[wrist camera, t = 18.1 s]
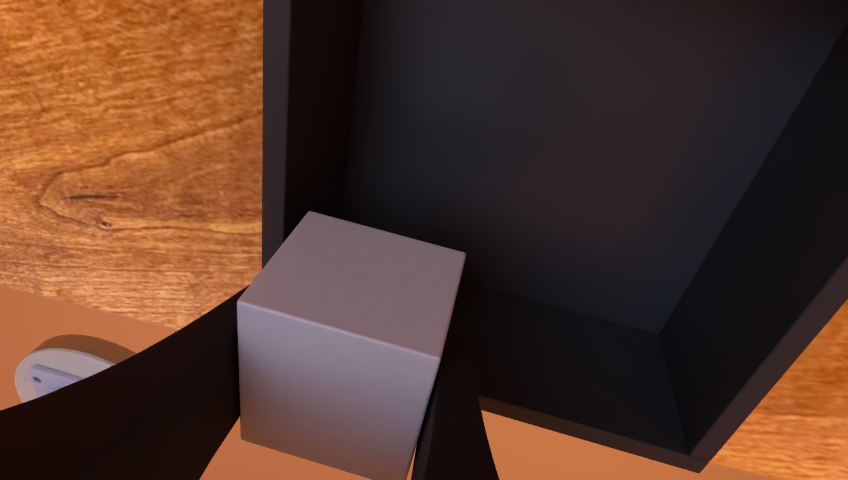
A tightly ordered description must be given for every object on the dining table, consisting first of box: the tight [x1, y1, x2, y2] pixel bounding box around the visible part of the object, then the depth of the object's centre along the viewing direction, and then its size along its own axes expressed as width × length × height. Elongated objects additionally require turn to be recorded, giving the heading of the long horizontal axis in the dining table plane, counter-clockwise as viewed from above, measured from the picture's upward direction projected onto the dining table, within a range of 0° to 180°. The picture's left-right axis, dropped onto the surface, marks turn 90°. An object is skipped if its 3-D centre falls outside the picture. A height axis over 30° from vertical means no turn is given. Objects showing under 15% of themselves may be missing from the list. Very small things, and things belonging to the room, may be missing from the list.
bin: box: [262, 0, 848, 473], centre depth 14 cm, size 13×13×6 cm
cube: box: [237, 211, 466, 480], centre depth 12 cm, size 4×4×4 cm
